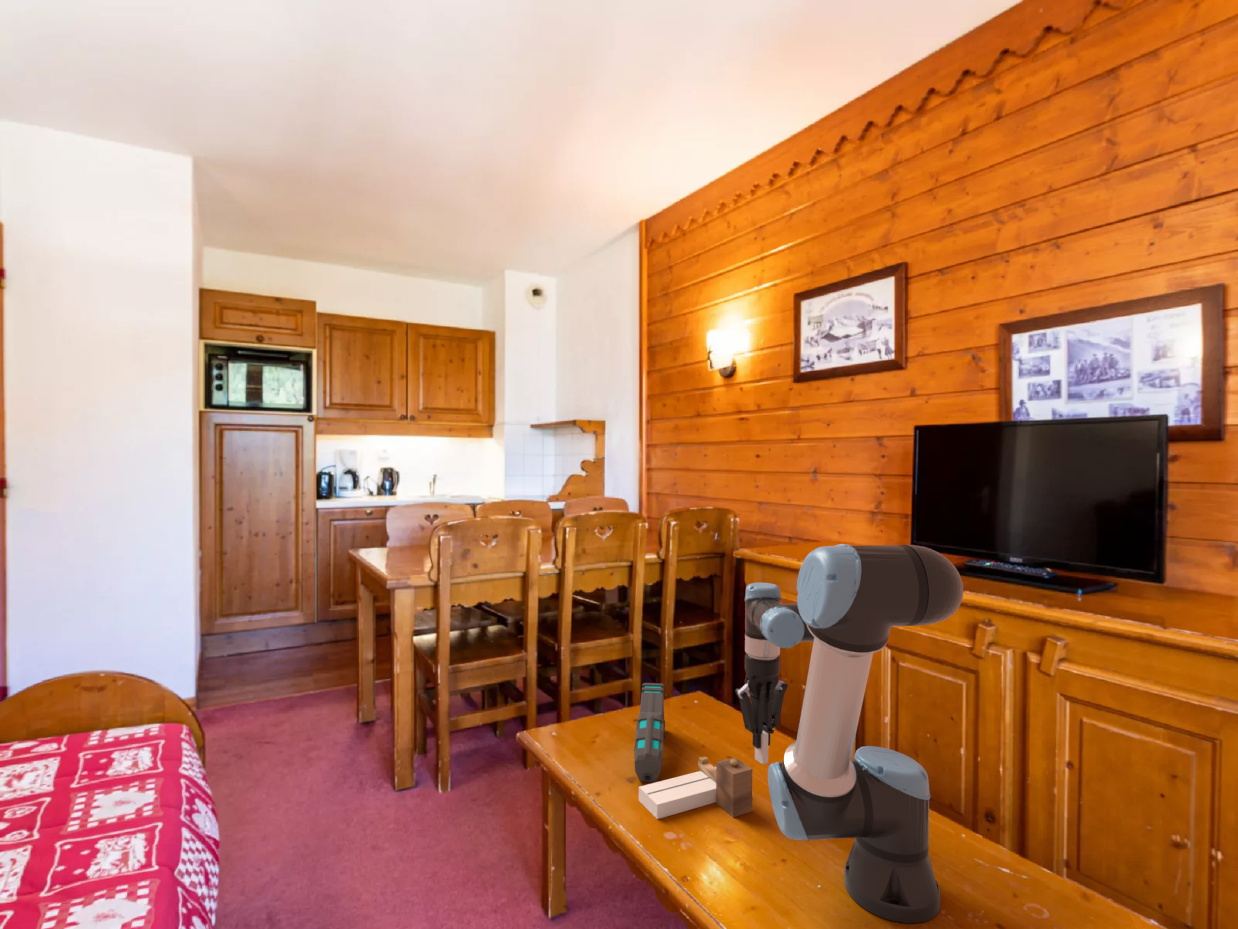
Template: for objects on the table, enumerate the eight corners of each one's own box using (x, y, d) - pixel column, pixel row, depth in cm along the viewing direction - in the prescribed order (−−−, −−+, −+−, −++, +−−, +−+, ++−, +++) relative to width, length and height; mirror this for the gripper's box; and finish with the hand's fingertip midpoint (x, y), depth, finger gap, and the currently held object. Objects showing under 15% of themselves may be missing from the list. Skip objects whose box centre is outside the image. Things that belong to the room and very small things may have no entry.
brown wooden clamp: (752, 811, 133) (752, 764, 133) (732, 817, 131) (733, 769, 131) (710, 778, 147) (710, 735, 147) (692, 783, 145) (692, 740, 145)
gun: (666, 722, 175) (665, 676, 170) (662, 810, 147) (661, 759, 142) (642, 721, 176) (641, 676, 171) (634, 809, 148) (632, 757, 143)
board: (742, 794, 140) (742, 780, 140) (657, 819, 130) (657, 804, 130) (721, 778, 147) (721, 765, 147) (638, 800, 137) (638, 786, 137)
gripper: (774, 645, 144) (773, 747, 145) (727, 653, 138) (726, 759, 139) (797, 655, 138) (795, 762, 138) (749, 664, 132) (748, 775, 132)
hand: (761, 760), depth 139 cm, fingers closed
